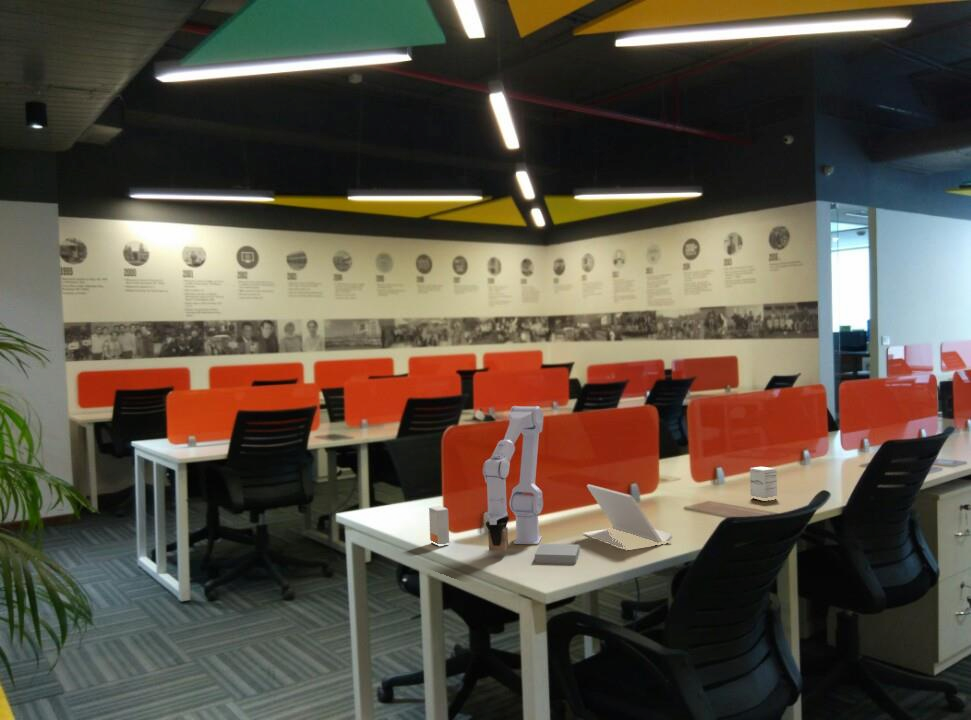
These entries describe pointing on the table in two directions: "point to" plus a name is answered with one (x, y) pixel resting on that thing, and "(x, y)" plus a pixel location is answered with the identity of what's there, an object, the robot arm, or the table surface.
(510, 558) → the table surface
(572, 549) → the slate block
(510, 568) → the table surface
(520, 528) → the robot arm
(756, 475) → the supplement box
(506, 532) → the walnut block
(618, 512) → the tablet stand
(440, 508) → the skincare box
